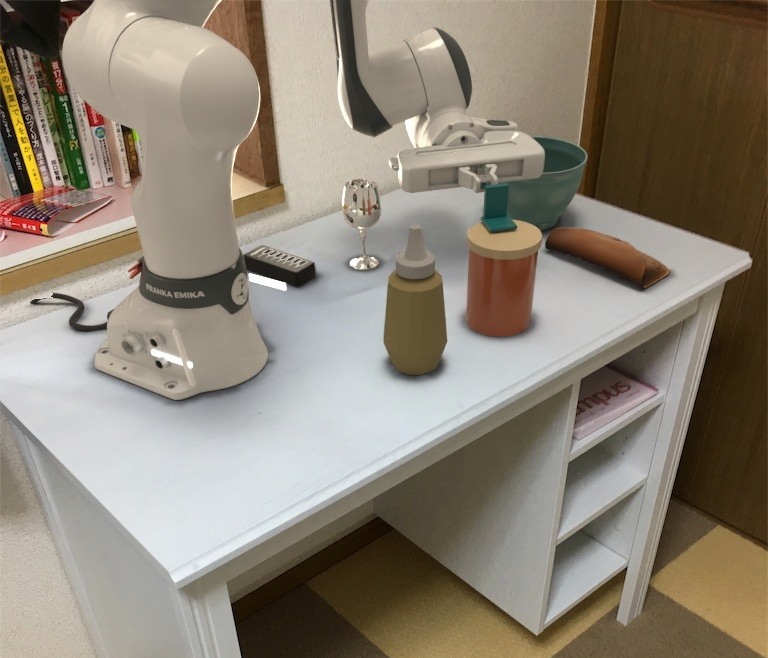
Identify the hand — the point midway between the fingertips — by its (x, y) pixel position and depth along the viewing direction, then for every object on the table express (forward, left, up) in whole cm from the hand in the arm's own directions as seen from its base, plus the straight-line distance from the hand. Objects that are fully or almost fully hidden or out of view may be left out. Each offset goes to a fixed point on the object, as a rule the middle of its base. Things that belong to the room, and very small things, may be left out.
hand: (487, 186), depth 106 cm
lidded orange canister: (+4, -6, -15) cm, 17 cm away
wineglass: (-20, +4, -16) cm, 25 cm away
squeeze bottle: (-3, -20, -16) cm, 26 cm away
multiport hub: (-31, -3, -16) cm, 35 cm away
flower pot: (0, +27, -16) cm, 31 cm away
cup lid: (+4, -6, -5) cm, 9 cm away
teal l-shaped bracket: (+3, -4, -3) cm, 6 cm away
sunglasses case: (+15, +16, -16) cm, 27 cm away
